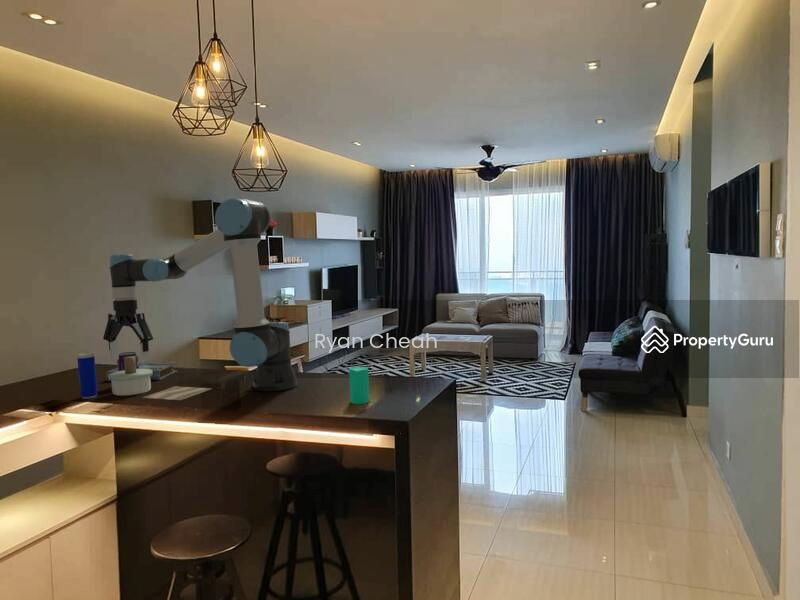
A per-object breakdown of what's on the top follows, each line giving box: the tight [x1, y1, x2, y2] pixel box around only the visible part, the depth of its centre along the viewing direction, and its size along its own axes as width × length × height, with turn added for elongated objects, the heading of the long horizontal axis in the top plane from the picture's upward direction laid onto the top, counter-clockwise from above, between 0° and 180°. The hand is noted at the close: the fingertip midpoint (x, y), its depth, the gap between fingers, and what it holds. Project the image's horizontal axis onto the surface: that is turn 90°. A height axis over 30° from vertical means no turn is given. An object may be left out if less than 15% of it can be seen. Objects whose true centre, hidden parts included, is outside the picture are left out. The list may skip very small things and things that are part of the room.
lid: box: [108, 356, 153, 381], centre depth 208 cm, size 14×14×7 cm
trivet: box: [141, 385, 213, 401], centre depth 203 cm, size 16×16×1 cm
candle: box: [348, 363, 370, 405], centre depth 185 cm, size 6×6×12 cm
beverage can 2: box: [116, 351, 139, 371], centre depth 221 cm, size 7×7×12 cm
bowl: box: [110, 376, 152, 396], centre depth 209 cm, size 12×12×6 cm
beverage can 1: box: [76, 352, 98, 400], centre depth 204 cm, size 5×5×15 cm
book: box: [105, 361, 178, 382], centre depth 237 cm, size 21×16×5 cm
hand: (129, 360), depth 208 cm, fingers open, 12 cm apart
